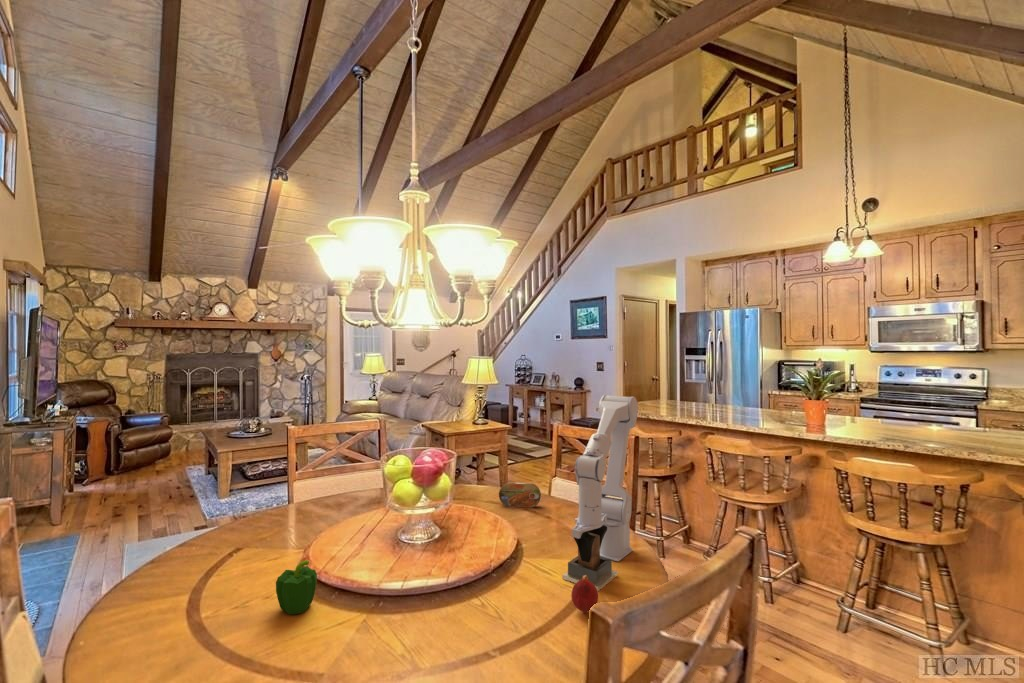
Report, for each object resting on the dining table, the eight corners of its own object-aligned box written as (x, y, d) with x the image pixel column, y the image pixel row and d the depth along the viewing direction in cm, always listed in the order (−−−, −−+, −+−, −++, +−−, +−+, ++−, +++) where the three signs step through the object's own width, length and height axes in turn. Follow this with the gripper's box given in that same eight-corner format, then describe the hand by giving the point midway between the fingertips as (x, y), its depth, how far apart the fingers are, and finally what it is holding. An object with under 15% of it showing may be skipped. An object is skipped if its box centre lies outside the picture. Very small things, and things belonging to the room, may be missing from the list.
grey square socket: (582, 564, 132) (582, 549, 132) (617, 575, 125) (617, 559, 125) (562, 578, 124) (562, 562, 124) (598, 591, 118) (598, 574, 118)
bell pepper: (276, 623, 104) (276, 575, 104) (275, 604, 111) (275, 560, 111) (319, 613, 108) (319, 567, 108) (315, 595, 115) (315, 553, 115)
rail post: (585, 562, 128) (585, 531, 128) (599, 566, 125) (599, 535, 125) (578, 568, 124) (577, 536, 124) (592, 572, 122) (592, 540, 122)
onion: (597, 621, 105) (597, 583, 105) (570, 618, 106) (570, 581, 106) (598, 607, 111) (598, 571, 111) (572, 604, 112) (572, 568, 112)
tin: (498, 506, 178) (498, 482, 178) (500, 503, 181) (500, 480, 181) (540, 508, 175) (540, 485, 175) (541, 505, 178) (541, 482, 178)
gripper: (590, 493, 133) (589, 544, 133) (561, 508, 121) (561, 563, 121) (614, 498, 128) (614, 551, 128) (586, 514, 117) (586, 571, 117)
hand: (590, 557), depth 125 cm, fingers closed on rail post, 4 cm apart
